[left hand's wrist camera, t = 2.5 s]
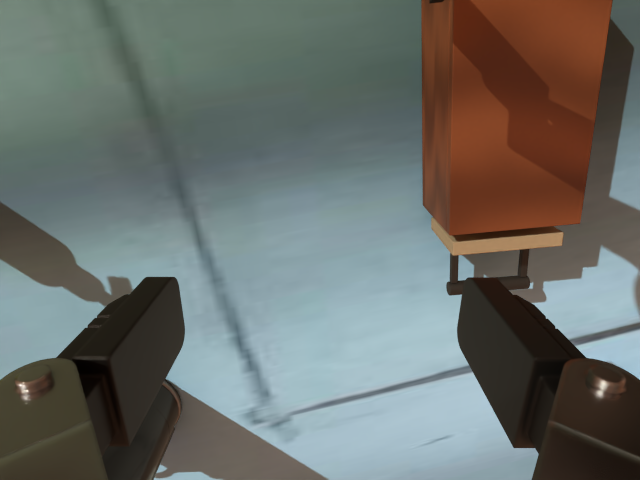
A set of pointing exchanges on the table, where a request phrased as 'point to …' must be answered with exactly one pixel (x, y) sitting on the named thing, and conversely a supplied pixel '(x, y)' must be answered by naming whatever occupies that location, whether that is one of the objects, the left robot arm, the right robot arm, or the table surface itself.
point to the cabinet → (509, 110)
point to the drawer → (496, 250)
